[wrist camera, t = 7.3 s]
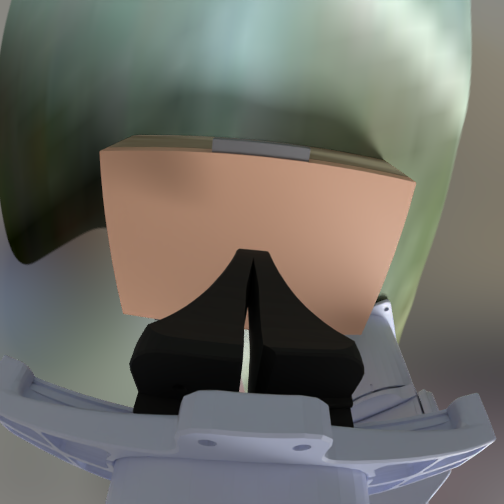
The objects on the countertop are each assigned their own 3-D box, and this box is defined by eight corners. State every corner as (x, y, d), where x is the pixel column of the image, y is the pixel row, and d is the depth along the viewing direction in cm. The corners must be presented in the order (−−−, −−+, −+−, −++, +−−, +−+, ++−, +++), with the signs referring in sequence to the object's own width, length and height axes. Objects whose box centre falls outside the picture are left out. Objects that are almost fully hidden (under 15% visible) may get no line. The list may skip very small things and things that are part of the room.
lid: (356, 329, 22) (359, 338, 21) (128, 309, 21) (124, 318, 21) (411, 166, 15) (419, 171, 14) (107, 136, 15) (99, 139, 14)
